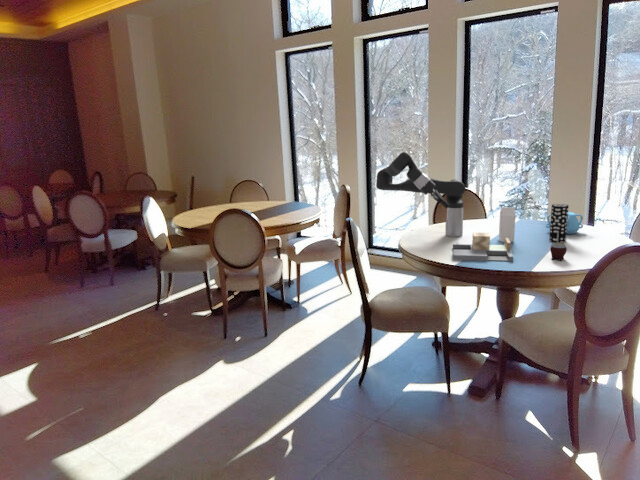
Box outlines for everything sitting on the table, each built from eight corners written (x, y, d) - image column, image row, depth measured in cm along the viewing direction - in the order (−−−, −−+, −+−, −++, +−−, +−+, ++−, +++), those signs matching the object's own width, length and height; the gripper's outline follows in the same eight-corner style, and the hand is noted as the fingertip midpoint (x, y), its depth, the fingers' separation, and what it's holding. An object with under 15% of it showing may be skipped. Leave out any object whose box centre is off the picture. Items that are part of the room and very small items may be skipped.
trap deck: (453, 260, 249) (453, 247, 248) (452, 248, 270) (453, 236, 268) (512, 261, 242) (513, 248, 241) (507, 249, 263) (508, 237, 262)
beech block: (473, 249, 257) (473, 236, 256) (472, 245, 265) (472, 232, 263) (489, 249, 256) (490, 236, 254) (488, 245, 263) (488, 232, 261)
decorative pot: (562, 228, 305) (563, 206, 301) (585, 233, 290) (587, 210, 287) (542, 231, 298) (543, 209, 295) (565, 237, 284) (566, 213, 281)
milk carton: (514, 241, 278) (515, 208, 273) (500, 241, 279) (502, 208, 275) (511, 238, 285) (513, 206, 280) (498, 238, 286) (500, 206, 282)
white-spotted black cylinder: (546, 239, 280) (548, 204, 275) (560, 238, 281) (563, 203, 276) (554, 243, 272) (556, 207, 267) (568, 242, 273) (571, 206, 268)
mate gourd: (560, 256, 247) (562, 227, 243) (569, 261, 239) (572, 230, 236) (546, 257, 246) (548, 228, 242) (555, 262, 239) (557, 231, 235)
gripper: (419, 187, 267) (442, 209, 267) (418, 190, 255) (442, 214, 255) (429, 177, 265) (453, 199, 265) (429, 180, 252) (453, 204, 252)
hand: (448, 206), depth 260 cm, fingers closed
